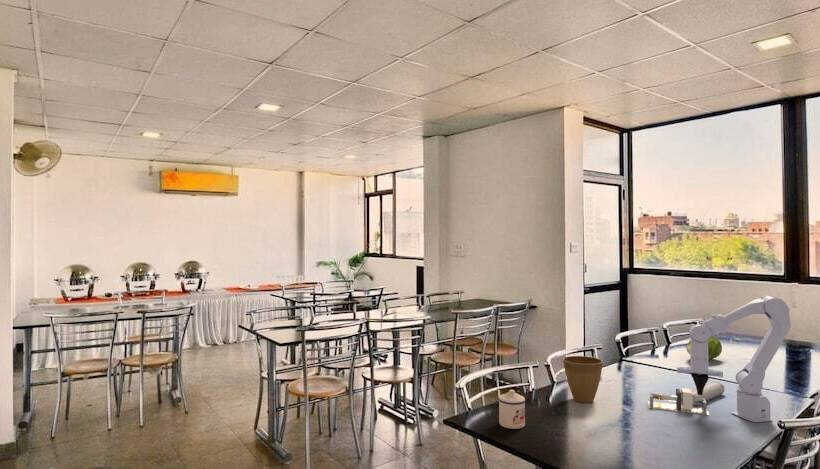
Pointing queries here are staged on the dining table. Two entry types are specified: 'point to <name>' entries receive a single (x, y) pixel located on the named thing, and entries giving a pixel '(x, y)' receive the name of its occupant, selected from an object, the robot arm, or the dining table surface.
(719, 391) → the tube
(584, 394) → the plant pot
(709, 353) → the lettuce
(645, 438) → the dining table surface
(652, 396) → the rod rig
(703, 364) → the robot arm
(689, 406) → the sleeve
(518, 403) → the teacup with lid
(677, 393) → the dark gray slab
